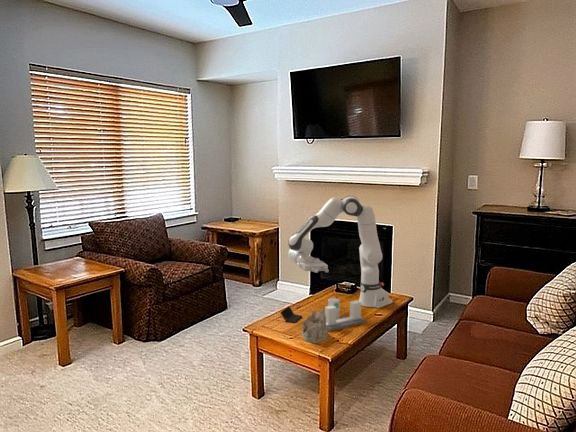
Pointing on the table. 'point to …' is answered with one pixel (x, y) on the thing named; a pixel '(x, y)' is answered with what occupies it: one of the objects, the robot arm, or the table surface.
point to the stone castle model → (315, 327)
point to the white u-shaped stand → (347, 321)
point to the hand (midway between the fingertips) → (322, 271)
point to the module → (335, 303)
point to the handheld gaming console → (290, 315)
